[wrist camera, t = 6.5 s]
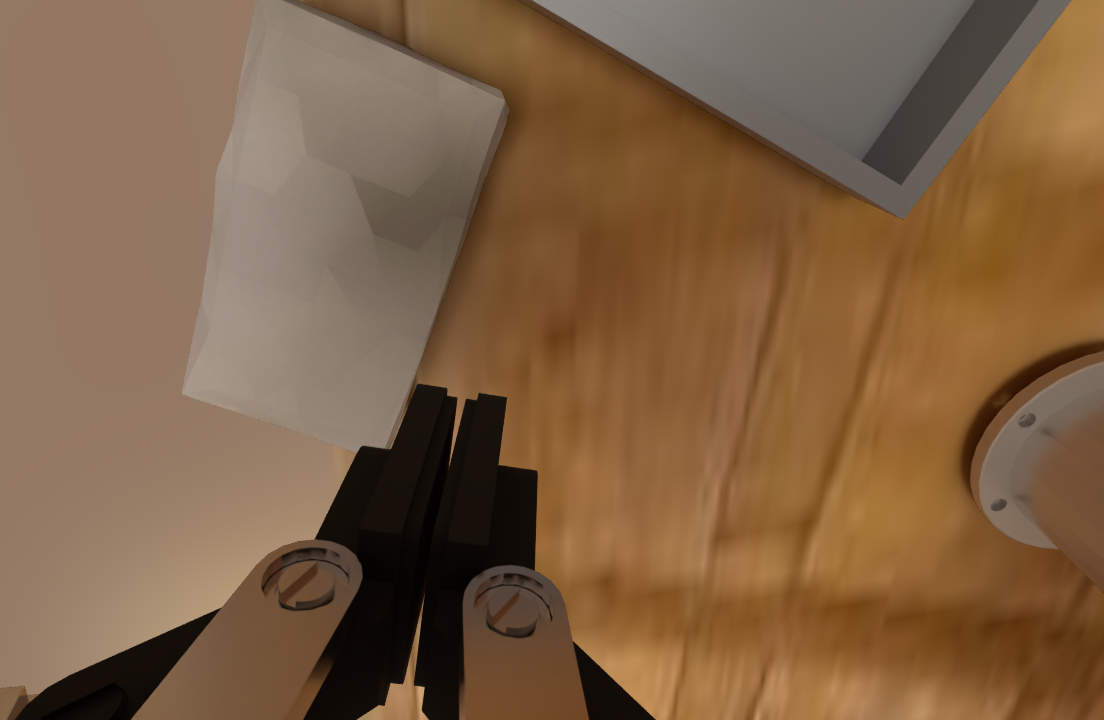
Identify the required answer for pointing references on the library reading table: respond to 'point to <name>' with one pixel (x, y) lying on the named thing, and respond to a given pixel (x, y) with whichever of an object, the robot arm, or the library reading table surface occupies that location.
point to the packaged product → (336, 224)
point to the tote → (829, 74)
